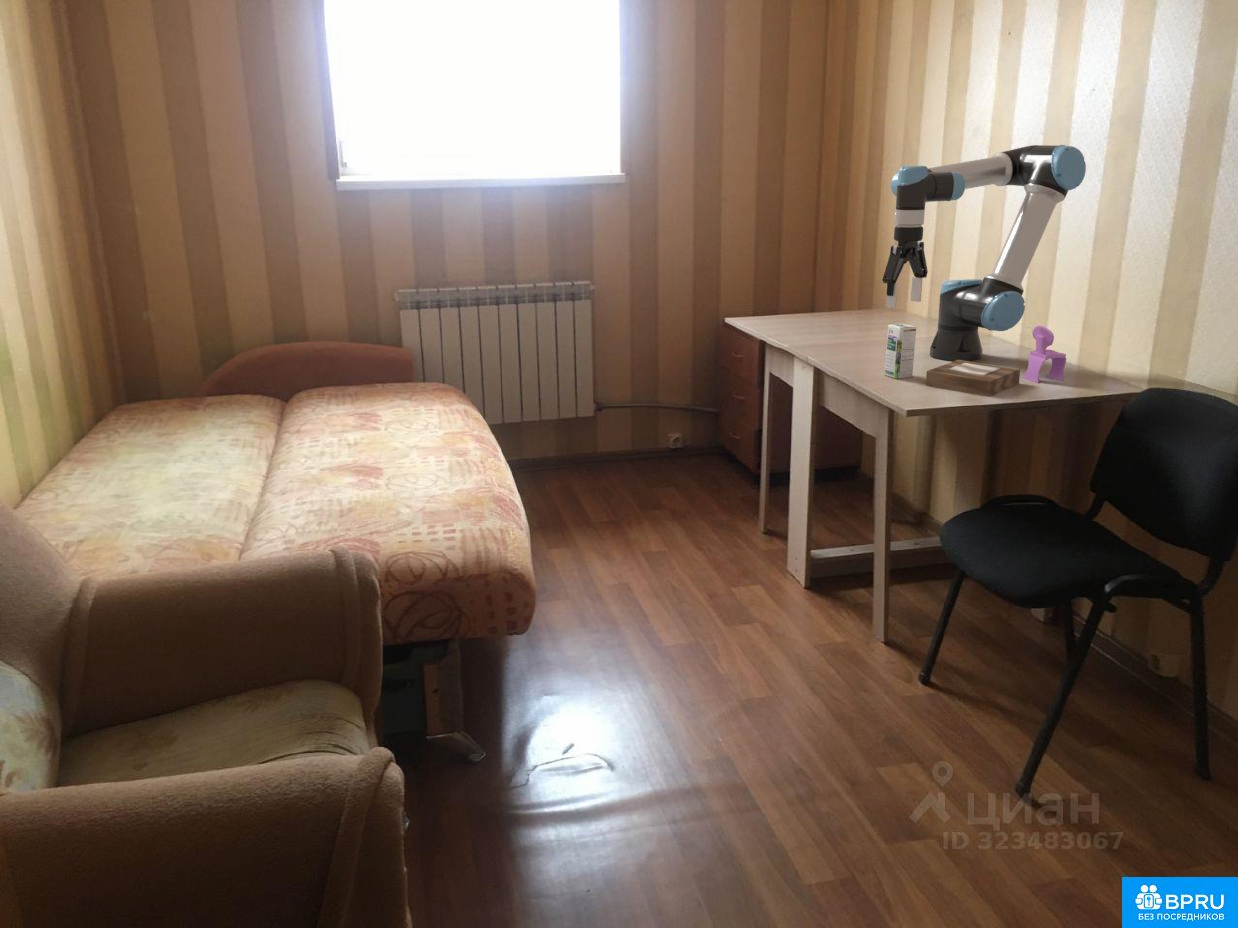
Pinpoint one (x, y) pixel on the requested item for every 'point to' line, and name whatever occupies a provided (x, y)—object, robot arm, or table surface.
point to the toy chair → (1044, 356)
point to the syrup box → (900, 351)
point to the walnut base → (973, 377)
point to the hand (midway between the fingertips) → (903, 304)
